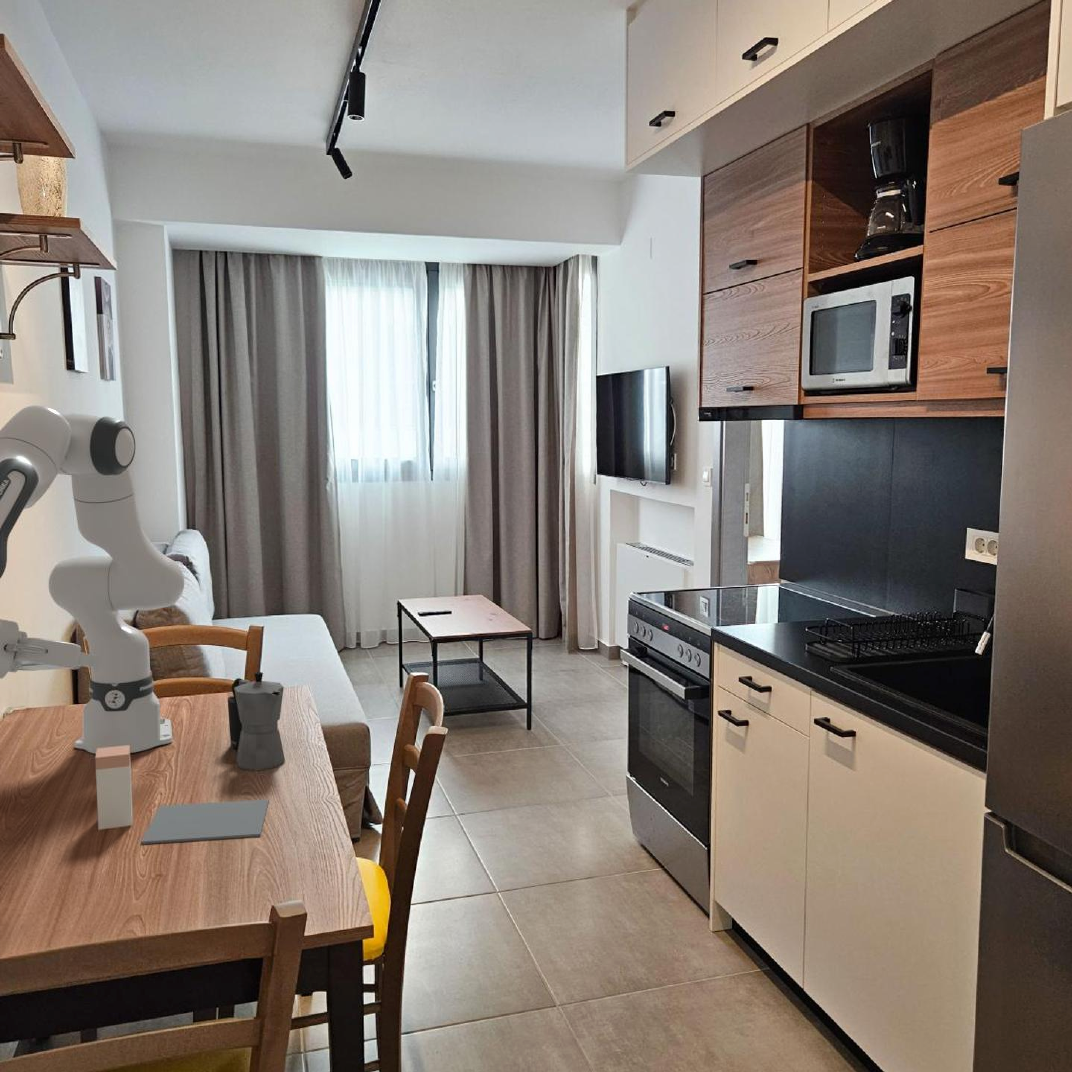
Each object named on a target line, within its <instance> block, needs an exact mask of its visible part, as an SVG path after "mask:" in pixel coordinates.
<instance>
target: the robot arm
mask: <svg viewBox="0 0 1072 1072" xmlns="http://www.w3.org/2000/svg"><path fill="white" fill-rule="evenodd" d="M135 454H136V440H135V435H134V432H133V430H132V429H131V428H130V426H128V425H127V423H126V422H125V421H123V420H121V419H117V418H115V417H110V416H96V415H91V414H82V413H64V414H63V413H60V412H58V411H57V410H55V409H53V408H51V407H49V406H44V405H37V404H36V405H35V404H34V405H29V406H26V407H24V408H22V409H21V410H19V411H18V412H17V413H16V414H14V415H13V416H12V417H11V418H10V419H9V420H8V421H7V423H5V424H4V425H3V426H2V428H1V429H0V579H1V578H2V576H3V575H4V573H5V571H6V568H7V562H8V540H9V536H10V534H11V532H12V530H14V527H15V525H16V523H17V522H18V520H19V518H20V517H21V514H22V512H23V511H24V510H26V509H30V508H33V506H34V505H36V503H37V502H38V501H39V500H41V498H42V497H43V496H44V495H45V493H46V492H47V491H48V490H49V488H50V487H51V485H52V484H53V483H54V480H55V479H56V478H57V475H66V476H67V475H68V476H71V477H70V478H71V489H72V495H73V497H72V498H73V502H74V509H75V514H76V521H77V528H78V530H79V533H80V534H81V536H82V537H83V538H84V539H85V540H86V541H87V542H88V543H90V544H92V545H95V546H96V547H98V548H100V549H103V550H104V552H106V553H107V554H108V556H106V555H105V556H100V555H99V556H92V555H91V556H79V557H75V558H69V559H63V560H61V561H59V562H58V563H57V564H56V565H55V566H54V568H52V570H51V572H50V574H49V577H48V578H49V579H48V590H49V593H50V596H51V598H52V600H53V602H54V603H55V604H56V605H57V606H58V607H60V608H62V610H63V611H66V612H67V614H68V613H69V615H71V616H72V617H73V618H74V620H75V621H76V622H77V624H78V625H79V626H80V628H81V629H82V631H83V634H84V635H85V638H86V642H87V645H88V650H89V653H87V652H84V651H82V647H81V645H79V644H77V643H72V642H67V641H66V642H65V641H60V640H54V639H49V638H48V639H47V638H40V637H28V634H27V632H26V631H20V628H19V625H18V624H19V623H17V622H16V621H14V620H7V619H2V618H1V619H0V679H1V680H2V679H3V678H5V676H6V675H7V674H8V672H9V673H13V674H14V673H16V672H18V671H23V672H24V671H25V672H26V671H28V672H33V671H34V672H35V671H49V670H66V669H71V670H78V669H81V667H86V668H90V673H91V679H89V686H88V691H89V698H91V699H89V701H88V702H87V703H86V704H85V705H84V706H83V707H82V724H81V725H82V732H81V733H82V736H81V738H79V739H77V740H76V741H74V748H75V749H76V748H77V749H80V750H85V751H86V752H88V753H91V754H95V755H96V751H97V748H106V747H116V746H125V745H130V754H132V753H137V752H142V751H146V750H149V749H152V748H154V747H158V746H161V745H166V744H170V743H172V742H173V731H172V722H171V720H170V719H168V718H164V717H161V708H160V707H161V706H160V700H159V699H158V697H157V696H156V694H155V693H154V690H155V689H154V688H155V687H154V684H155V683H154V682H155V681H154V679H153V671H152V670H151V665H150V664H151V662H150V661H151V660H150V642H149V639H148V638H147V636H146V634H145V633H143V632H142V631H141V630H140V629H138V628H137V627H134V626H131V625H129V624H127V623H126V622H125V621H124V619H123V618H122V616H121V615H120V613H119V612H120V611H151V610H152V611H153V610H157V609H163V608H167V607H168V608H169V607H172V606H175V604H176V603H177V602H178V601H179V599H180V598H181V597H182V594H183V592H184V589H185V588H184V587H185V577H184V576H185V575H184V574H183V570H182V569H181V567H180V565H178V563H177V562H176V561H175V560H173V559H172V558H170V557H169V556H167V555H165V554H164V553H163V552H161V550H159V549H158V548H157V547H156V546H155V545H154V544H153V543H152V541H151V540H150V539H149V538H148V536H147V534H146V532H145V531H144V529H143V526H142V523H141V519H140V518H141V517H140V515H139V509H138V505H137V503H138V502H137V498H136V489H135V485H134V484H135V483H134V479H133V474H132V470H131V469H132V468H131V467H130V465H131V464H132V462H133V461H134V458H135Z"/></svg>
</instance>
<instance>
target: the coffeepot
mask: <svg viewBox="0 0 1072 1072" xmlns="http://www.w3.org/2000/svg"><path fill="white" fill-rule="evenodd" d="M263 675H264V673H263V672H261V671H257V672H254V679H255V680H254V681H250V680H248V679H243V678H236V679H235V680H234V681H233V683H232V684H231V690H232V691H231V692H232V696H233V697H234V700H235V706H236V710H237V714H238V718H239V719H240V721H241V723H242V731H241V734H240V740H239V747H238V750H237V755H236V765H237V767H239V768H240V769H243V770H246V771H248V770H249V771H263V770H269V769H274V768H276V767H279V766H281V765H283V763H284V762H285V761H286V759H285V753H284V748H283V743H282V738H281V733H280V729H279V727H278V725H279V723H278V721H279V720H280V719H281V712H282V705H283V704H282V703H283V696H284V689H285V687H284V685H282V684H281V683H280V682H275V681H265V680H263Z"/></svg>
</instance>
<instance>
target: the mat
mask: <svg viewBox="0 0 1072 1072" xmlns="http://www.w3.org/2000/svg"><path fill="white" fill-rule="evenodd" d="M269 801H270V800H269V799H267V798H266V799H250V800H249V799H248V800H235V801H233V800H232V801H218V802H217V801H215V802H203V803H202V802H200V803H186V804H183V803H182V804H169V805H159V807H158V809H157V810H156V812H155V814H154V816H153V818H152V820H151V821H150V824H149V826H148V828H147V829H146V832H145V833H144V835H143V837H142V839H141V841H140V845H146V844H149V845H150V844H163V843H175V842H176V843H177V842H193V841H207V840H224V839H236V838H237V839H238V838H239V839H240V838H253V837H255V838H256V837H261V836H262V835H261V834H262V831H263V827H264V823H265V818H266V814H267V811H268V806H269V803H270V802H269Z"/></svg>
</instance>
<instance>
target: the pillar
mask: <svg viewBox="0 0 1072 1072" xmlns="http://www.w3.org/2000/svg"><path fill="white" fill-rule="evenodd" d="M94 761H95V779H96V781H95V782H96V783H95V784H96V799H97V800H96V802H97V826H98V829H97V830H99V831H100V830H107V829H108V830H109V829H115V828H116V829H117V828H121V827H122V828H124V827H132V825H133V794H132V792H133V791H132V767H131V753H130V745H125V746H116V747H106V748H97V751H96V754H95V760H94Z"/></svg>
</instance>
